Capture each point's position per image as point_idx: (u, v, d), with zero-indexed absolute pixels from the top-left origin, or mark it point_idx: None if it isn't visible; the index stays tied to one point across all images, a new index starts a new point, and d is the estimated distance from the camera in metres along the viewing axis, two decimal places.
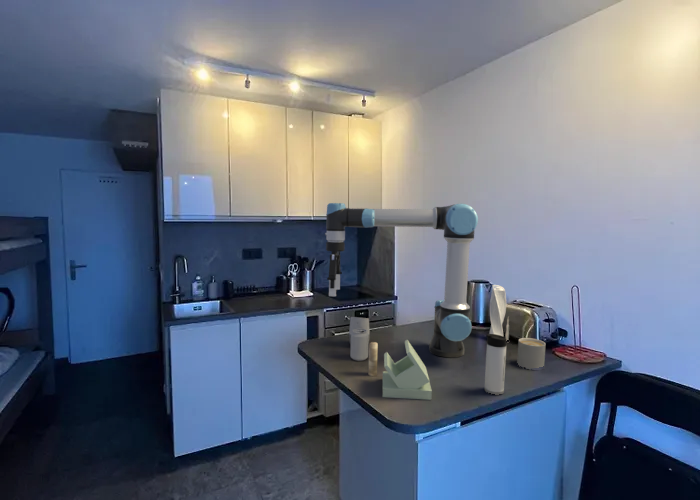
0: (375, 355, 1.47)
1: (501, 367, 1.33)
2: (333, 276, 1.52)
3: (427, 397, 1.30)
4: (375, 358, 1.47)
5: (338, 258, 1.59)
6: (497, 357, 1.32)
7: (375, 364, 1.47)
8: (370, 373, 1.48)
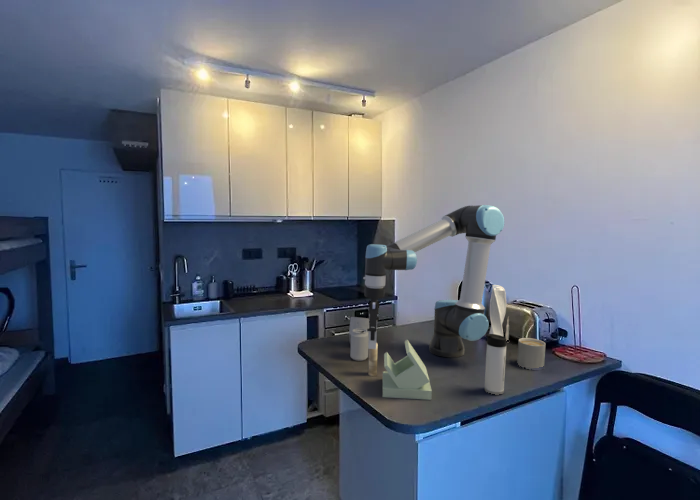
0: (375, 355, 1.47)
1: (501, 367, 1.33)
2: (374, 328, 1.37)
3: (427, 397, 1.30)
4: (375, 358, 1.47)
5: (378, 305, 1.44)
6: (497, 357, 1.32)
7: (375, 364, 1.47)
8: (370, 373, 1.48)
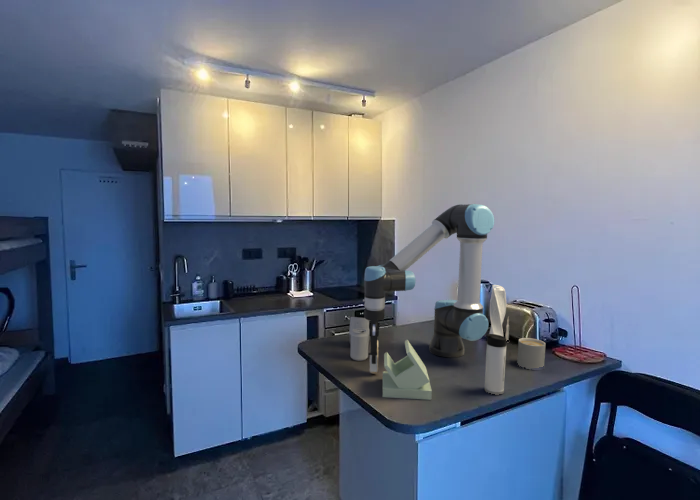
0: None
1: (501, 367, 1.33)
2: (375, 352, 1.43)
3: (427, 397, 1.30)
4: None
5: (378, 328, 1.45)
6: (497, 357, 1.32)
7: None
8: None
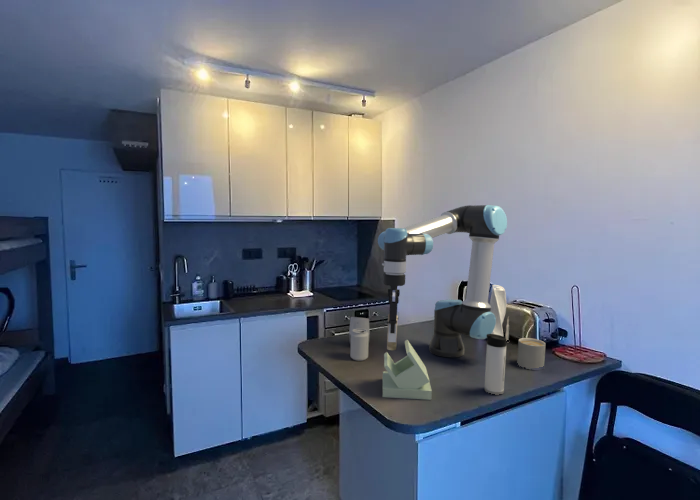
0: None
1: (501, 367, 1.33)
2: (395, 320, 1.32)
3: (427, 397, 1.30)
4: None
5: (398, 295, 1.34)
6: (497, 357, 1.32)
7: None
8: (389, 347, 1.36)
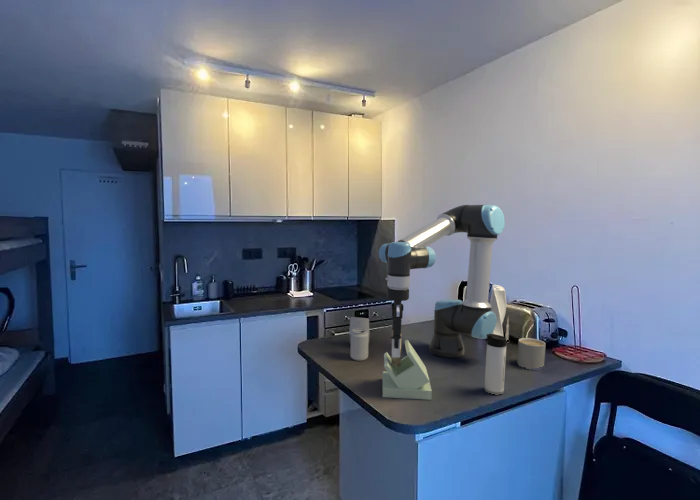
0: None
1: (501, 367, 1.33)
2: (399, 335, 1.30)
3: (427, 397, 1.30)
4: None
5: (402, 310, 1.33)
6: (497, 357, 1.32)
7: None
8: (394, 364, 1.35)
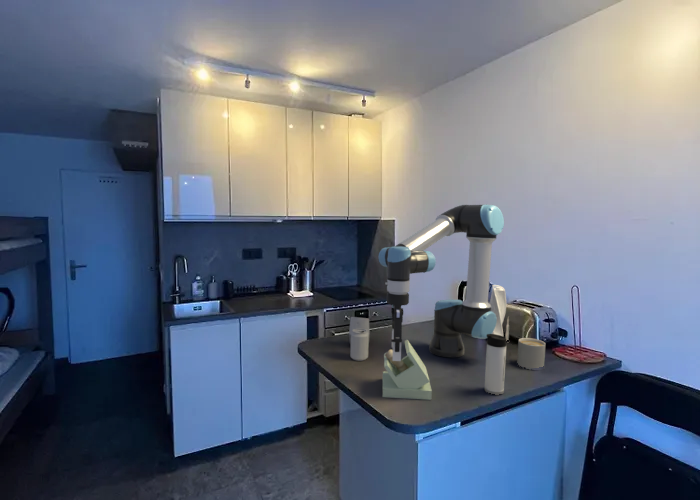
0: None
1: (501, 367, 1.33)
2: (399, 338, 1.26)
3: (427, 397, 1.30)
4: (400, 363, 1.35)
5: (402, 313, 1.32)
6: (497, 357, 1.32)
7: (405, 367, 1.35)
8: None
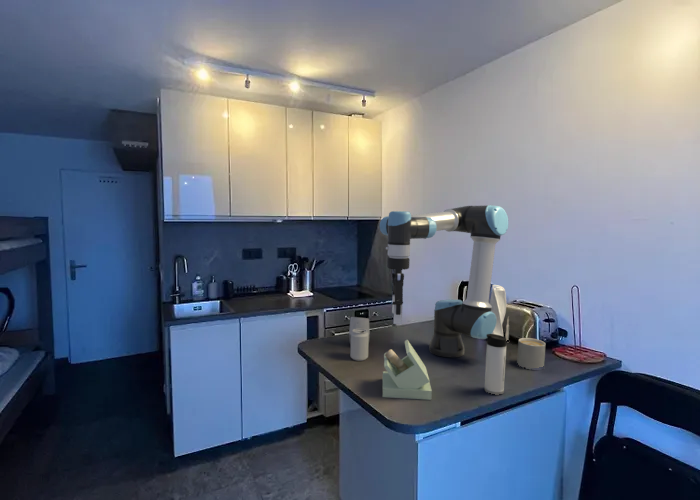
0: (398, 360, 1.35)
1: (501, 367, 1.33)
2: (401, 300, 1.25)
3: (427, 397, 1.30)
4: (400, 363, 1.35)
5: (403, 277, 1.32)
6: (497, 357, 1.32)
7: (405, 367, 1.35)
8: None
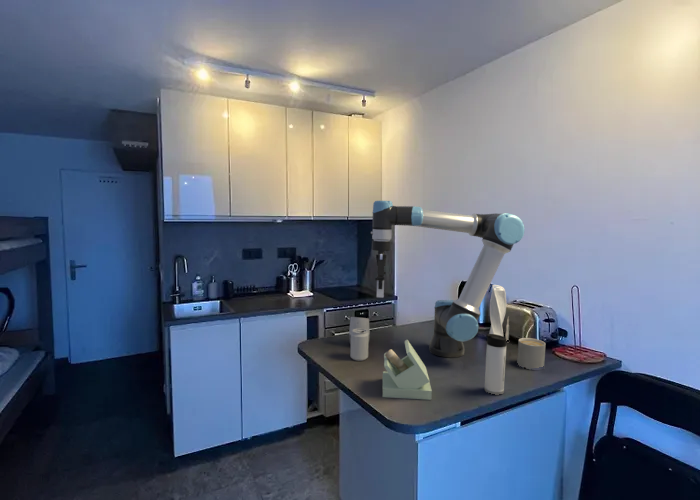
0: (398, 360, 1.35)
1: (501, 367, 1.33)
2: (382, 276, 1.46)
3: (427, 397, 1.30)
4: (400, 363, 1.35)
5: (385, 258, 1.53)
6: (497, 357, 1.32)
7: (405, 367, 1.35)
8: None
